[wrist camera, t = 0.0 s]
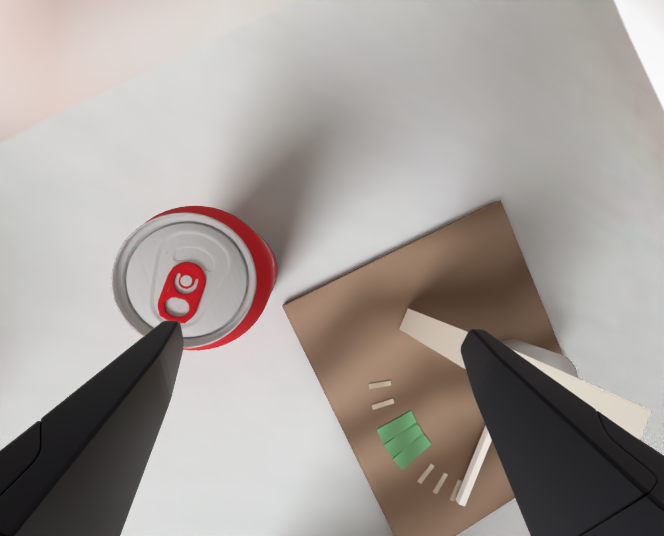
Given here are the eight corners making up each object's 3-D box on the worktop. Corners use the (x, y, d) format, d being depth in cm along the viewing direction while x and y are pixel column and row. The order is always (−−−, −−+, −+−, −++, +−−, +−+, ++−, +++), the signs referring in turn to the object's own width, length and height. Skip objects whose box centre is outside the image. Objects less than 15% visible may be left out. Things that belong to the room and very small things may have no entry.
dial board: (592, 440, 29) (600, 444, 28) (406, 558, 26) (409, 566, 26) (495, 201, 27) (501, 200, 26) (282, 305, 24) (282, 306, 23)
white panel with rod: (541, 350, 27) (732, 417, 15) (479, 506, 26) (628, 695, 15) (414, 293, 25) (524, 321, 13) (343, 460, 24) (396, 636, 13)
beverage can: (288, 245, 24) (292, 232, 12) (261, 321, 24) (240, 382, 12) (208, 217, 23) (129, 172, 11) (179, 296, 23) (69, 335, 11)
